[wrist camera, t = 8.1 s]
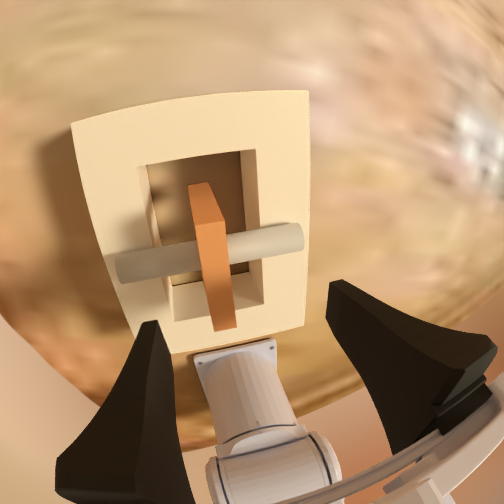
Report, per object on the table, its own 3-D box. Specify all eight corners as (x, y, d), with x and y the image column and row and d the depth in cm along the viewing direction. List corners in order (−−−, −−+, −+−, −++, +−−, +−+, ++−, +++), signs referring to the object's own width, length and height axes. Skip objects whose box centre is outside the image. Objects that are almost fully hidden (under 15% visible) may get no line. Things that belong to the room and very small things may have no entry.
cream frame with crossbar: (285, 294, 25) (312, 339, 20) (145, 321, 22) (144, 375, 18) (281, 91, 16) (323, 90, 12) (91, 118, 14) (59, 126, 10)
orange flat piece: (219, 269, 19) (236, 327, 15) (201, 273, 19) (214, 332, 14) (208, 182, 16) (224, 220, 12) (187, 185, 16) (194, 225, 11)
